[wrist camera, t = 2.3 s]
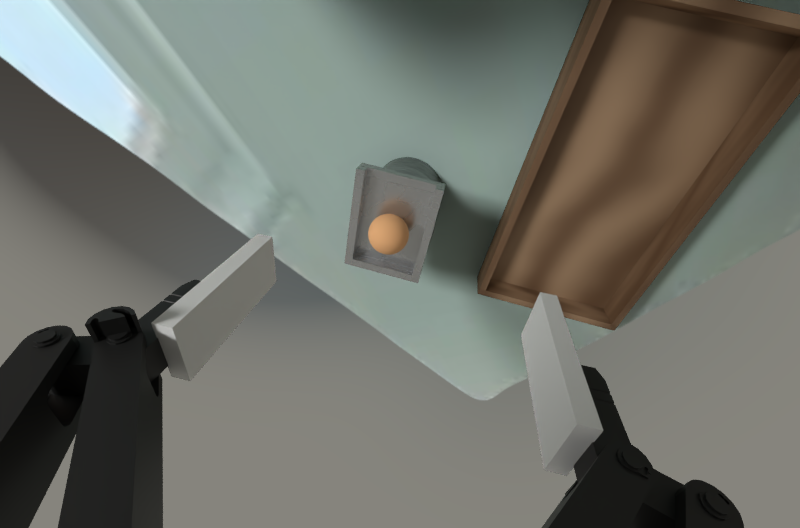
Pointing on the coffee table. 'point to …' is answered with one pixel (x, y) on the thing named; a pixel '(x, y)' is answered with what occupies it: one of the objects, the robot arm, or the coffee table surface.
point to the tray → (638, 147)
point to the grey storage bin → (400, 195)
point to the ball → (388, 234)
